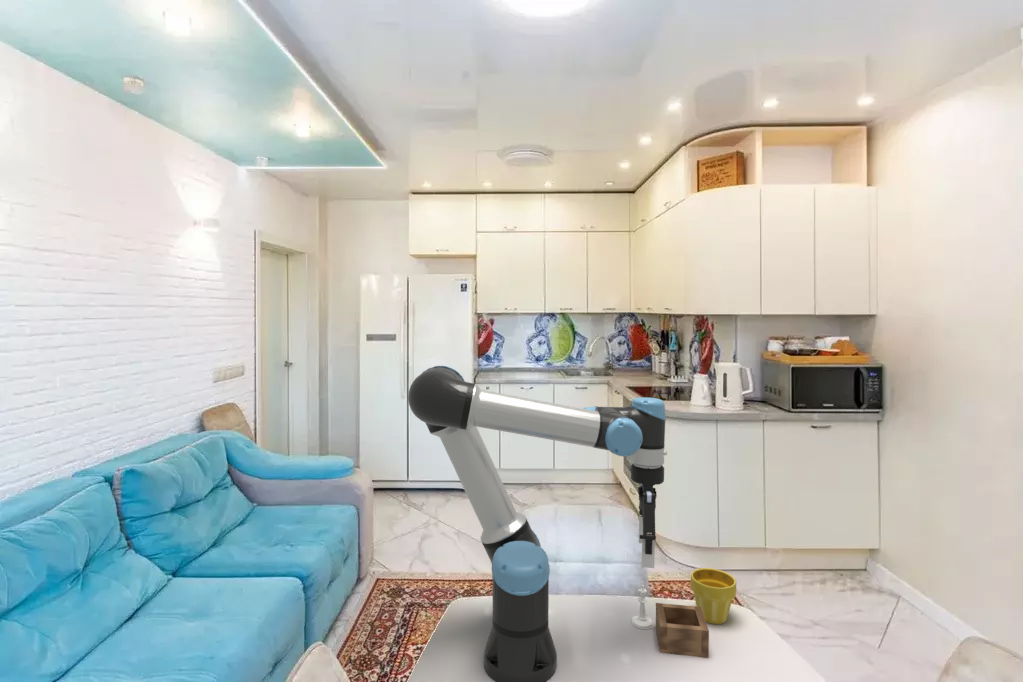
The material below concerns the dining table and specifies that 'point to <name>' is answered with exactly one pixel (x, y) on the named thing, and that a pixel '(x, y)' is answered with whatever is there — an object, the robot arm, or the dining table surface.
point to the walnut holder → (682, 630)
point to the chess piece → (642, 611)
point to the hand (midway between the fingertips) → (646, 554)
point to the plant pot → (713, 593)
